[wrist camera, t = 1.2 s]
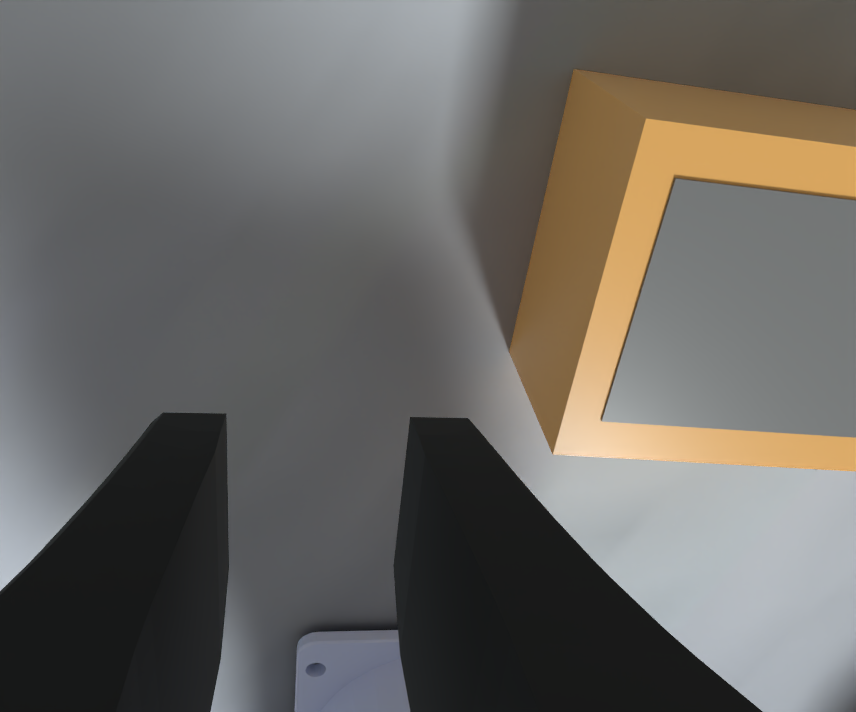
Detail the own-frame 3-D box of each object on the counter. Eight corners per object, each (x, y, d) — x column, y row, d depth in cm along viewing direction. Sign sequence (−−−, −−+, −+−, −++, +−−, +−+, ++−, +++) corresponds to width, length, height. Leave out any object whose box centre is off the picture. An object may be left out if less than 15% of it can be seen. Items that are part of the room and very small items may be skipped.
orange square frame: (791, 369, 19) (896, 475, 16) (506, 346, 18) (553, 456, 15) (899, 114, 17) (1055, 175, 13) (570, 66, 15) (647, 119, 12)
